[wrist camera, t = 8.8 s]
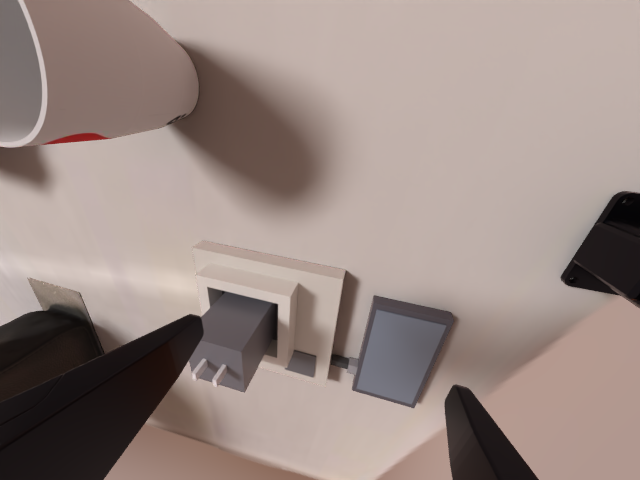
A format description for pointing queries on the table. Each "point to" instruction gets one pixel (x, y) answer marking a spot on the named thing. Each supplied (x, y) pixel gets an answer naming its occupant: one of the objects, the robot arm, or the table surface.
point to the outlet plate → (278, 303)
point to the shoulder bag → (46, 340)
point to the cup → (88, 72)
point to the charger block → (233, 340)
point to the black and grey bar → (345, 363)
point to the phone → (399, 350)
